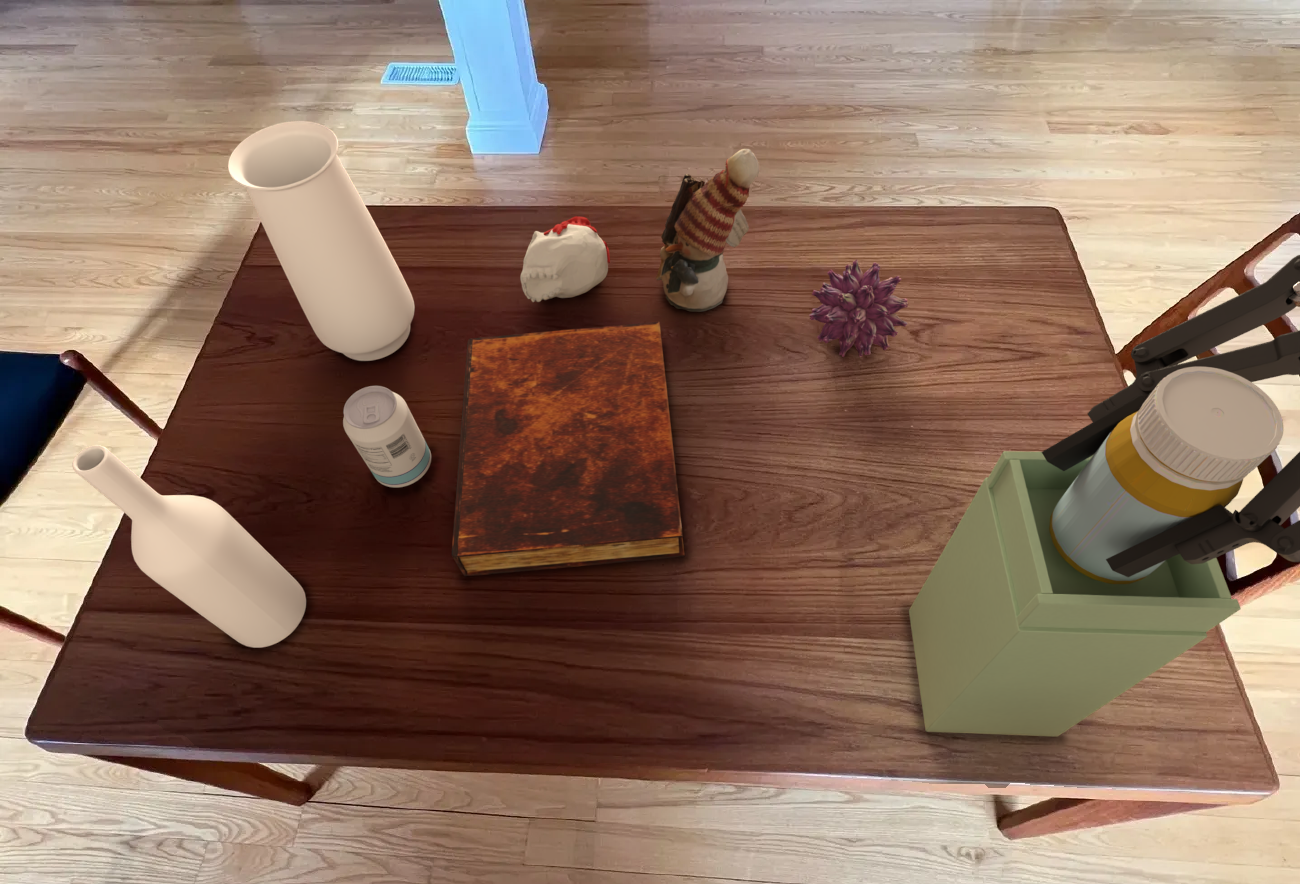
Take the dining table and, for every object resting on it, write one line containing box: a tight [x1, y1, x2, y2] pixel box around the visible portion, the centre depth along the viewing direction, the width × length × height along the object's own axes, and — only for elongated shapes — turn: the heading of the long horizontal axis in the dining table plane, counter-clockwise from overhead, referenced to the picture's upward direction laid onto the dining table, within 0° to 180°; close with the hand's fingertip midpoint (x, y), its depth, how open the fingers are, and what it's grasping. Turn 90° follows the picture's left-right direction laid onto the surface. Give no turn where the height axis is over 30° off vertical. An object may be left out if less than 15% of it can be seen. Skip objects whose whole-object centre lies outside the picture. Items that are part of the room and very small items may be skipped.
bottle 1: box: [71, 444, 307, 649], centre depth 72 cm, size 8×8×30 cm
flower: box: [808, 259, 909, 358], centre depth 96 cm, size 12×12×12 cm
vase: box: [227, 120, 416, 362], centre depth 94 cm, size 13×13×28 cm
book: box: [451, 321, 686, 577], centre depth 91 cm, size 30×24×5 cm
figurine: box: [655, 148, 760, 313], centre depth 99 cm, size 13×12×20 cm
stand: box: [908, 450, 1242, 738], centre depth 64 cm, size 12×12×30 cm
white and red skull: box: [519, 215, 611, 303], centre depth 106 cm, size 9×11×15 cm
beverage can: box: [342, 385, 432, 488], centre depth 89 cm, size 7×7×12 cm
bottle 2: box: [1049, 367, 1285, 584], centre depth 48 cm, size 7×7×15 cm
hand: (1084, 512), depth 49 cm, fingers closed on bottle 2, 7 cm apart
